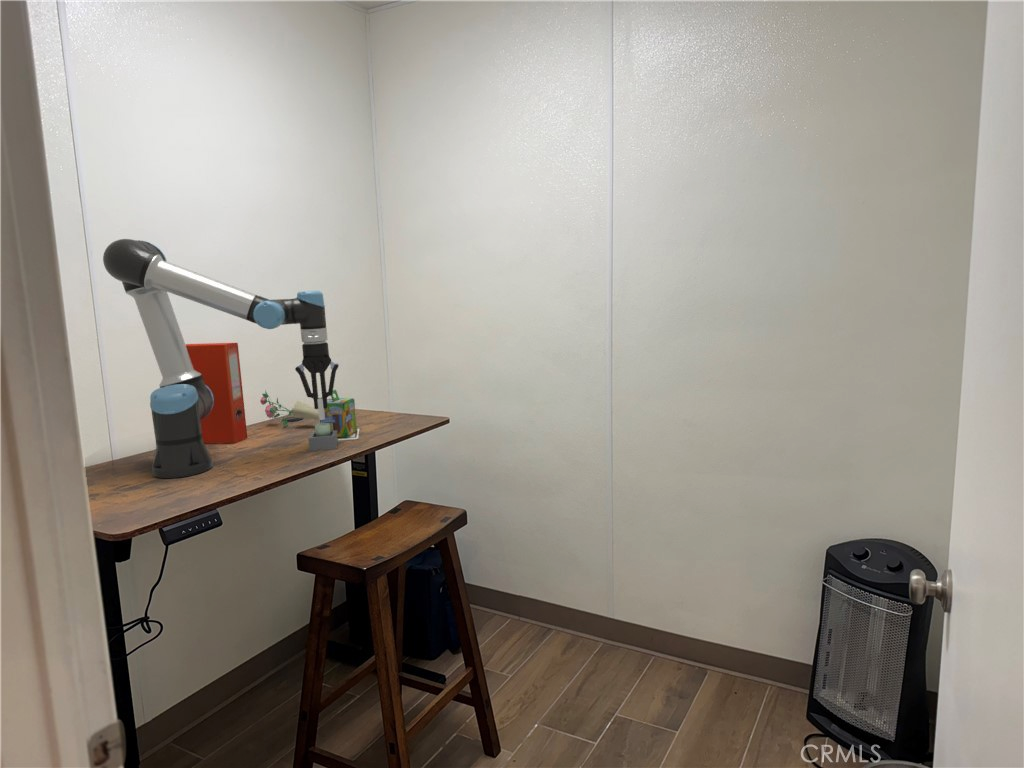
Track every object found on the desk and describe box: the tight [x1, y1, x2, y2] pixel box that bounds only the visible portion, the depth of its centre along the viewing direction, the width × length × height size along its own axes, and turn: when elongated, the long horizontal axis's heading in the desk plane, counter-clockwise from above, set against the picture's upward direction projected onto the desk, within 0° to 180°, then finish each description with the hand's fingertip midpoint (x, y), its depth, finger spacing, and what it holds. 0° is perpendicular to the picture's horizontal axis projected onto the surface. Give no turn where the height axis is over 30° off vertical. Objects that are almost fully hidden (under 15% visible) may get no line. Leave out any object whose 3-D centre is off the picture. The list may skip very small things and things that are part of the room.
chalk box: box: [319, 389, 358, 437], centre depth 219 cm, size 9×9×15 cm
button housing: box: [307, 430, 339, 452], centre depth 207 cm, size 8×8×4 cm
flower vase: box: [259, 389, 320, 428], centre depth 236 cm, size 12×12×35 cm
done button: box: [314, 422, 331, 437], centre depth 206 cm, size 4×4×4 cm
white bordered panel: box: [338, 428, 360, 442], centre depth 220 cm, size 12×14×1 cm
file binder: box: [185, 342, 248, 444], centre depth 218 cm, size 8×17×32 cm, turn 81°
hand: (322, 418), depth 206 cm, fingers closed
